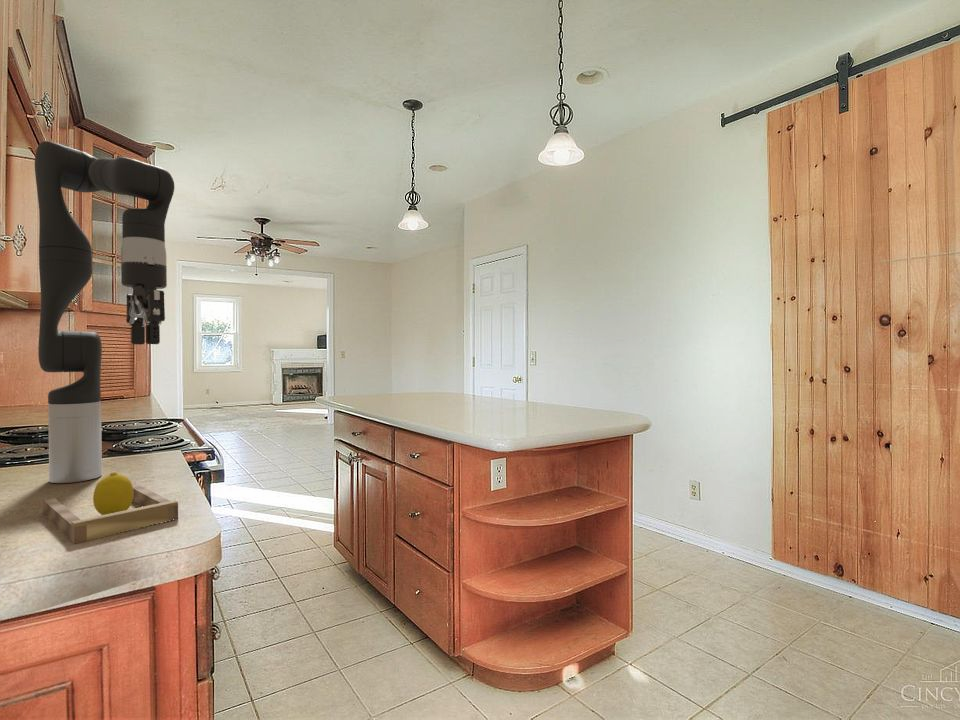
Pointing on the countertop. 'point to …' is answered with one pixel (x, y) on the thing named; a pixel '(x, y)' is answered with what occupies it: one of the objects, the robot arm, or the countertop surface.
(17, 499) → the countertop surface
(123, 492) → the lemon
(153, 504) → the brown wooden u-shaped frame
